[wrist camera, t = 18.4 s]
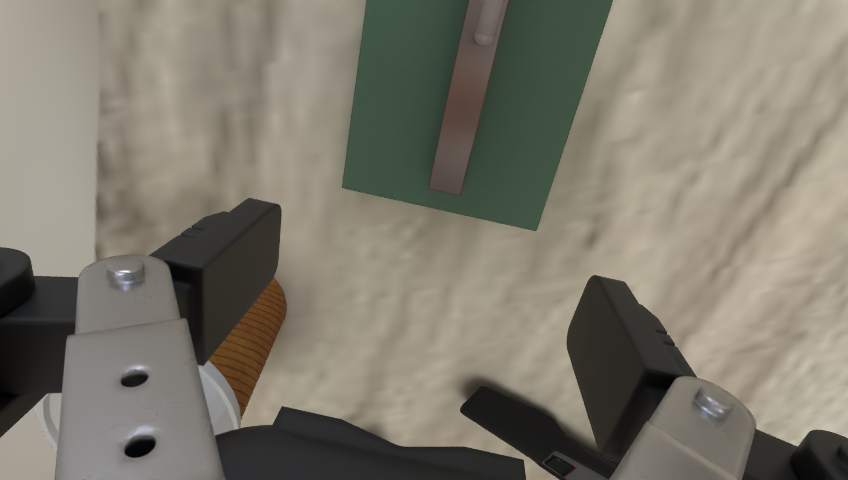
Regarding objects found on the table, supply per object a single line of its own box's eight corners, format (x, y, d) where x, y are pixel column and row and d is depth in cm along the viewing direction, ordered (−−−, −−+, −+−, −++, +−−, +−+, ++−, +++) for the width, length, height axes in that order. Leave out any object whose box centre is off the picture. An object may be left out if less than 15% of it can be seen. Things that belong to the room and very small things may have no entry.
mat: (410, -314, 19) (409, -324, 18) (693, -251, 19) (700, -260, 18) (344, 185, 28) (341, 188, 27) (534, 227, 28) (536, 231, 27)
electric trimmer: (481, 361, 32) (481, 393, 30) (641, 466, 35) (656, 505, 32) (450, 393, 34) (447, 426, 31) (606, 492, 36) (617, 531, 33)
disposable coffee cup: (293, 371, 34) (210, 527, 23) (170, 329, 34) (26, 469, 23) (324, 267, 30) (242, 395, 19) (186, 218, 30) (21, 321, 19)
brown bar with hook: (518, -230, 19) (563, -473, 10) (560, -221, 19) (642, -455, 10) (431, 175, 26) (411, 245, 17) (461, 182, 26) (457, 255, 17)
